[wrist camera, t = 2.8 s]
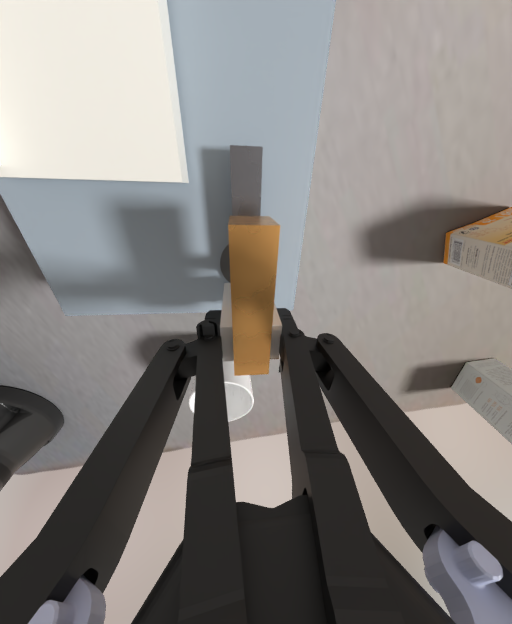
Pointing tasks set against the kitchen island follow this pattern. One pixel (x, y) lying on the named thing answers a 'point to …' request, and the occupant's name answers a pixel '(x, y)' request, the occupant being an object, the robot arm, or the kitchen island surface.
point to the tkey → (251, 263)
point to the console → (193, 169)
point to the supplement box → (483, 248)
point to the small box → (488, 392)
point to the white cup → (232, 392)
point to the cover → (89, 91)
